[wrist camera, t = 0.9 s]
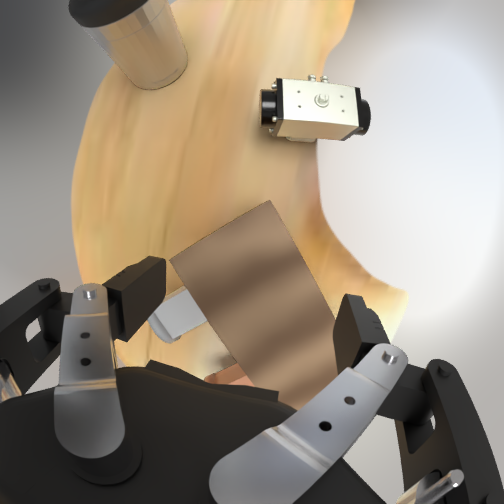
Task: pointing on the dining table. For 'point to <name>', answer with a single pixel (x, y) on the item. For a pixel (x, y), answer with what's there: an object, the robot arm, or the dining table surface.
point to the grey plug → (176, 316)
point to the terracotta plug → (230, 376)
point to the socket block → (263, 304)
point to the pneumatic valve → (313, 110)
